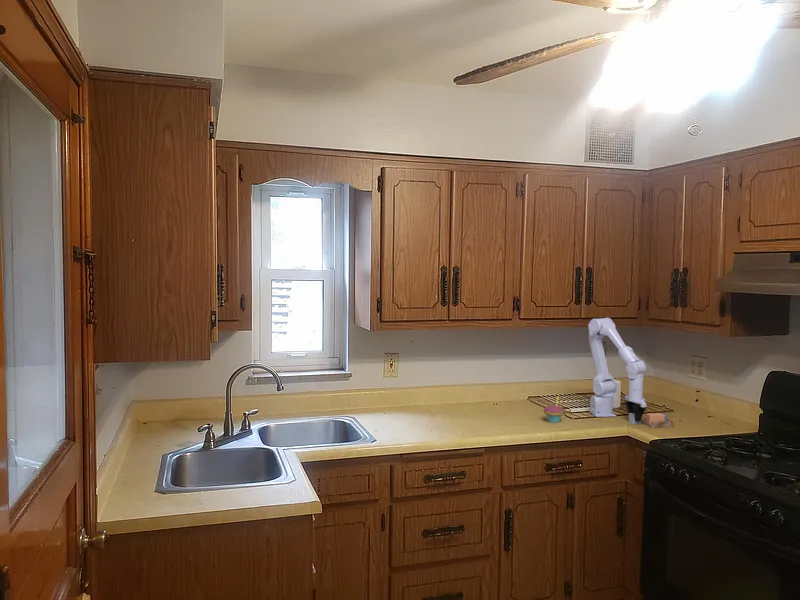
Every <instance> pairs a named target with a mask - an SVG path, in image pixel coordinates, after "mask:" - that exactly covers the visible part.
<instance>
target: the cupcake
mask: <svg viewBox="0 0 800 600" xmlns="http://www.w3.org/2000/svg"><path fill="white" fill-rule="evenodd" d="M559 395H560V394H558V396H557V398H556V401H555V404H552V405H547V406H545V407H544V408H543V414H545V415H546V419H547V422H548V423H553V424H556V423H557V424H558V423H560V421H561V418H562V416H563V415H564V413H565V411H564V409H563V408H562V407H561V406H559V398H560V396H559Z"/></svg>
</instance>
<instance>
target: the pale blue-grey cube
mask: <svg viewBox="0 0 800 600" xmlns="http://www.w3.org/2000/svg"><path fill="white" fill-rule="evenodd" d="M628 423H630V424H631V425H642V423H641V422H636V421H635V415H634V413H629V415H628Z"/></svg>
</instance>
